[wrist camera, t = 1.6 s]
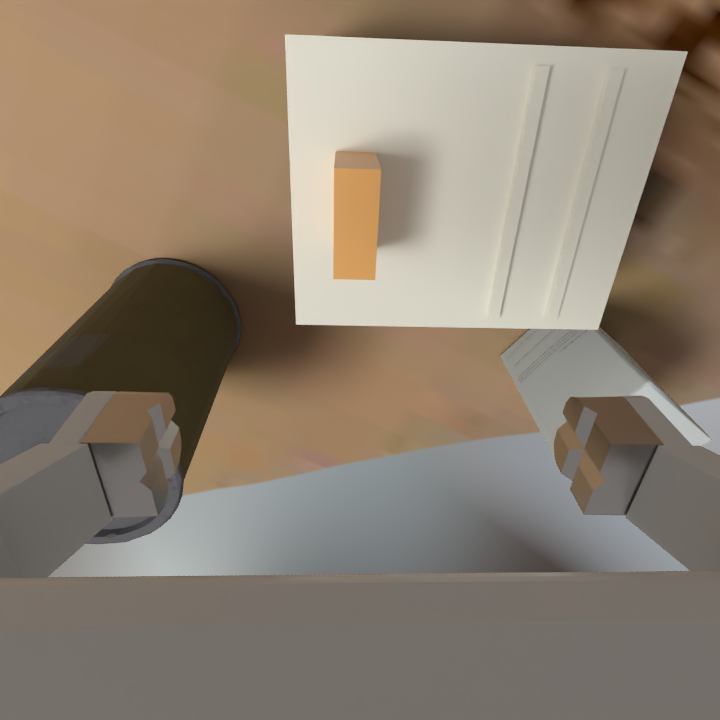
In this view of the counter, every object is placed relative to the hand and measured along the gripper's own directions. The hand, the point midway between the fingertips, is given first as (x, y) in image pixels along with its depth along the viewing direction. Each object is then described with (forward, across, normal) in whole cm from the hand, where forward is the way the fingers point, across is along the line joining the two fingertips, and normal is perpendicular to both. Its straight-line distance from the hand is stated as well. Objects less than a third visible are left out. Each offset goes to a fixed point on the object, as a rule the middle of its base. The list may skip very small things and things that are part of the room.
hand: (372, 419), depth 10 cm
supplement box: (+28, -18, +14) cm, 36 cm away
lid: (+20, -6, 0) cm, 20 cm away
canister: (+28, +14, +12) cm, 33 cm away
